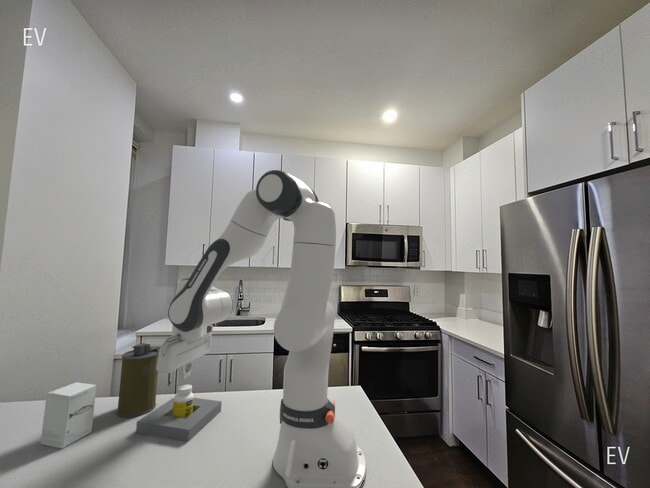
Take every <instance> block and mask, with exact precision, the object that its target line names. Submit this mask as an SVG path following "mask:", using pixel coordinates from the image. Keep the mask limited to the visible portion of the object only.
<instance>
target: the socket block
mask: <svg viewBox="0 0 650 488" xmlns="http://www.w3.org/2000/svg"><path fill="white" fill-rule="evenodd" d="M173 401H174V397H173V398H170V400H168V401H166V402H165V403H163V404H162V405H160V406H159V407H157V408H156V409H155V408H154V409H153V410H151V411H150V412H148V414H146V415H145V416H143V417H142V418H140V419H138V420H137V421H136V429H135V433H136V434H138V435H139V434H140V435H146V436H153V437H158V438H164V439H170V440H177V441H182V442H190V441H191V440H192V439H194V437H195V436H196V435H197V434H198V433H200V431H202V430H203V429H204V428H205V427H206V426H207V425H208V424H209V423H210V422H212V420H213V419H214V418H215V417H216V416H217V415H219V414H220V413H221V411H222V400H214V399H206V398H198V397H194V400H193V411H192V414H191V415H189V416H188V417H187V418H186V419H184V418H177V417H172V412H173Z"/></svg>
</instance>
